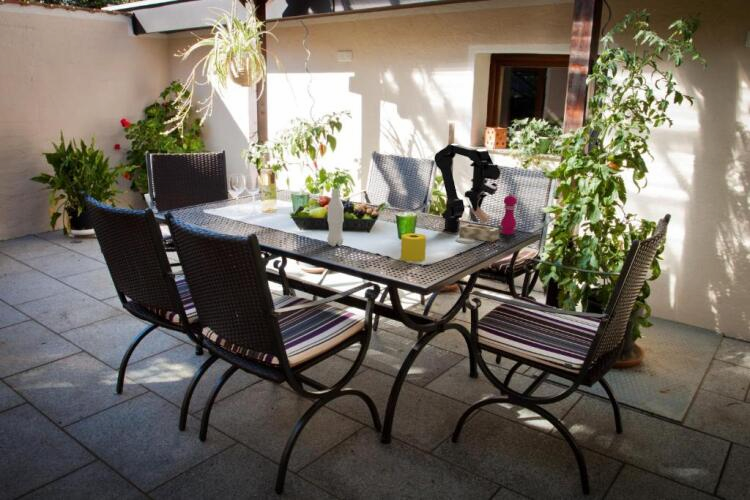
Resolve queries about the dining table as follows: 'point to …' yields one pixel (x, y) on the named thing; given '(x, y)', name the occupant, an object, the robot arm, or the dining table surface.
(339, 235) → the water bottle
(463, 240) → the felt coaster
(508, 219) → the pepper mill
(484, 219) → the terracotta block
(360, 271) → the dining table surface
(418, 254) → the yellow hollow cylinder
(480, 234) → the beech pocket board
